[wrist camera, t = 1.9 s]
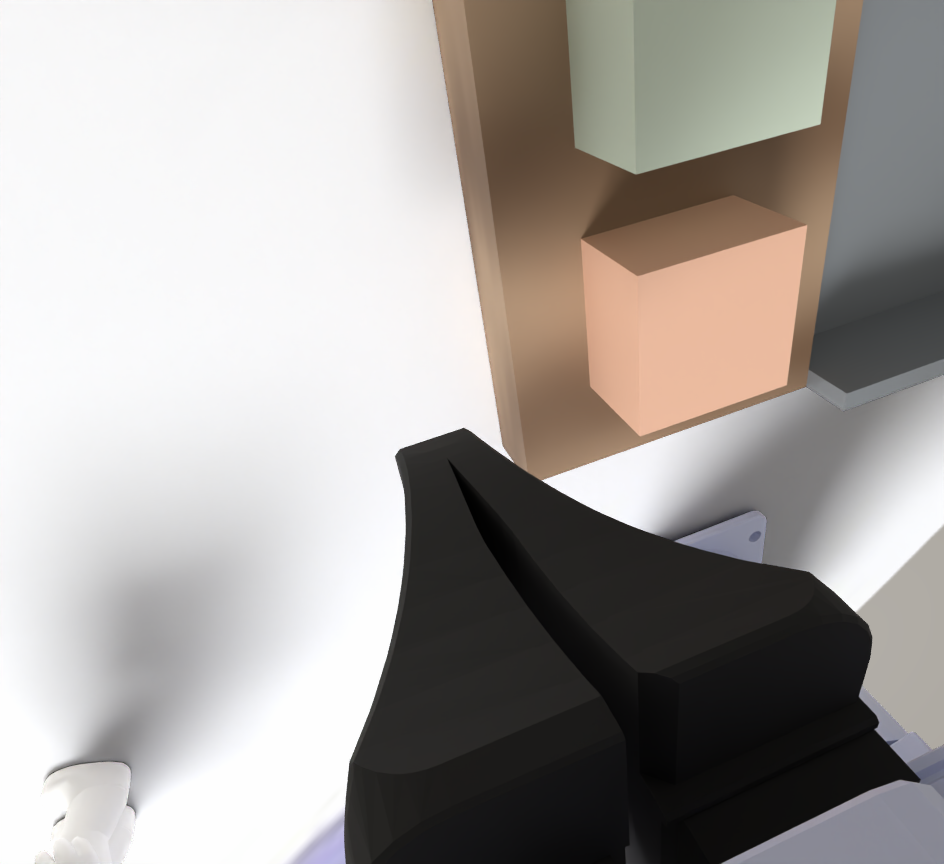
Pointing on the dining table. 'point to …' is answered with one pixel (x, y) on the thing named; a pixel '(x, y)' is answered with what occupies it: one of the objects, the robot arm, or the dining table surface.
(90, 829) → the flower shoulder figurine
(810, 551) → the dining table surface
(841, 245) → the tray
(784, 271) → the tile terracotta
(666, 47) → the tile sage
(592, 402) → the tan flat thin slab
